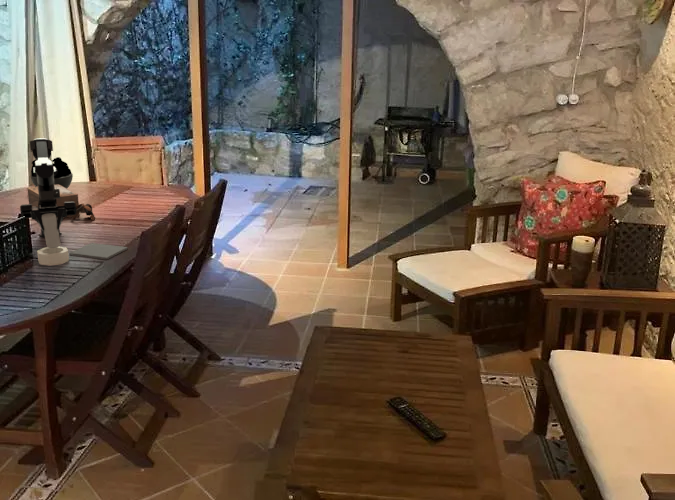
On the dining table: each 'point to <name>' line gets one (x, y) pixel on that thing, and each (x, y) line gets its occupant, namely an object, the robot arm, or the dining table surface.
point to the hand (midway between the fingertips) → (50, 229)
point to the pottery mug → (84, 211)
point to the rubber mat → (98, 251)
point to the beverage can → (51, 230)
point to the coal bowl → (61, 178)
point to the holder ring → (53, 256)
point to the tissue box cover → (64, 197)
